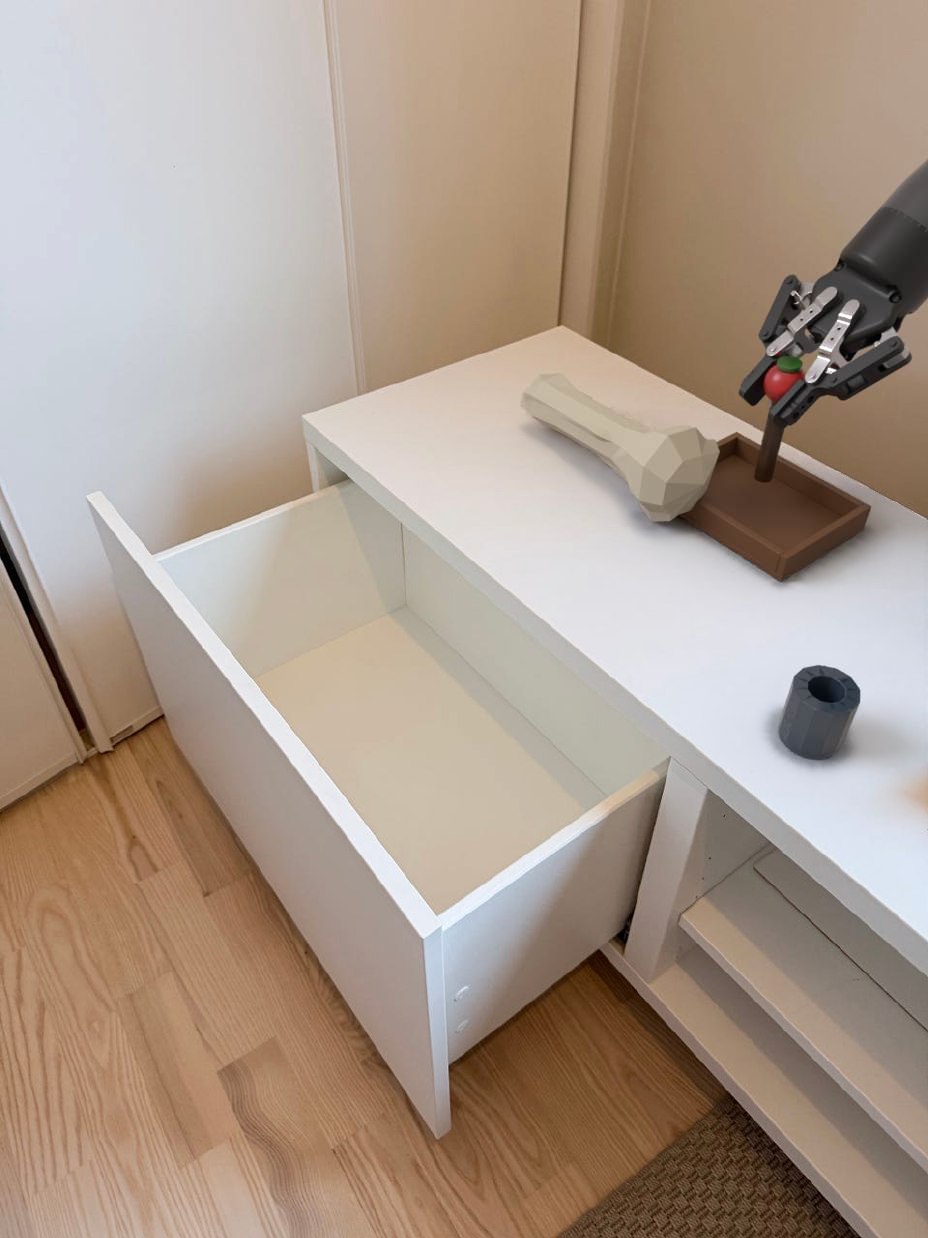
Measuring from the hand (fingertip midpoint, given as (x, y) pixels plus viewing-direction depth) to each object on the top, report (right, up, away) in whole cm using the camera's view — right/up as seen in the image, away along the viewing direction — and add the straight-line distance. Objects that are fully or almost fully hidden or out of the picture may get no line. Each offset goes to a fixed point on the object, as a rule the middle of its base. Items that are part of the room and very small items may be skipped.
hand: (760, 410), depth 77 cm
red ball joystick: (+2, -5, +6) cm, 8 cm away
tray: (+2, -8, +8) cm, 11 cm away
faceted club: (-10, -2, +14) cm, 18 cm away
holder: (0, -26, -10) cm, 28 cm away
